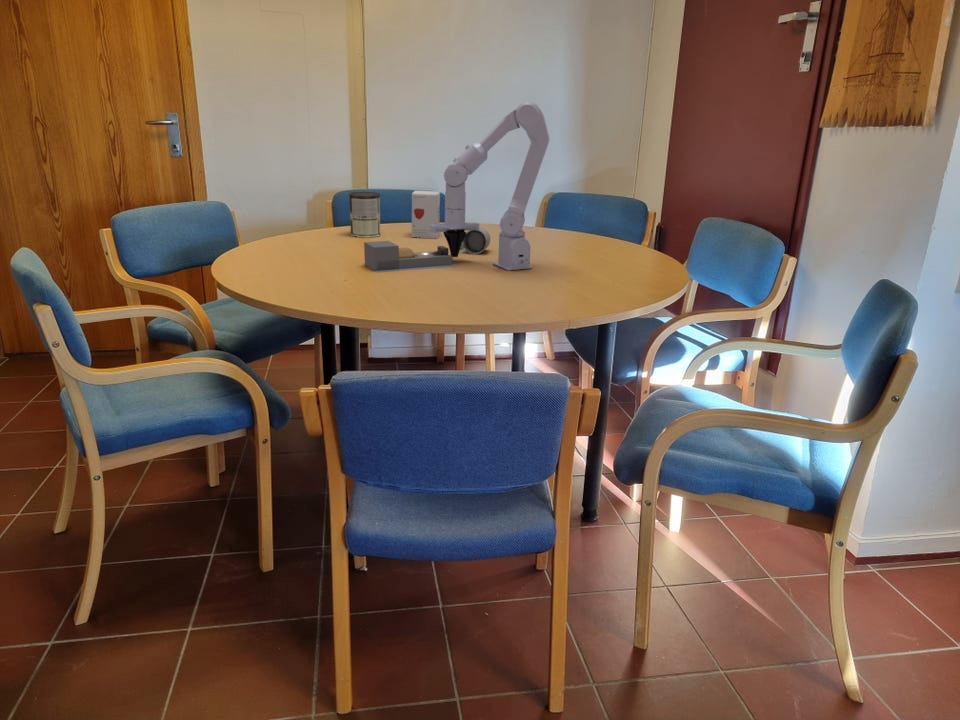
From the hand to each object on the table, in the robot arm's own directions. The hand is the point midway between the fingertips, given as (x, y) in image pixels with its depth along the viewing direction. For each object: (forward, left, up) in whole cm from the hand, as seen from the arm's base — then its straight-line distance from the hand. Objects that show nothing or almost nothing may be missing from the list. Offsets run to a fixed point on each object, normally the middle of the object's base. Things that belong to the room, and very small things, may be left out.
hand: (454, 256), depth 200 cm
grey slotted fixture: (0, +12, -2) cm, 13 cm away
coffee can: (+52, +9, -2) cm, 53 cm away
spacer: (0, +16, -1) cm, 16 cm away
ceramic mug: (+14, -13, -2) cm, 19 cm away
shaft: (0, +8, -1) cm, 8 cm away
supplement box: (+44, -10, -2) cm, 45 cm away
